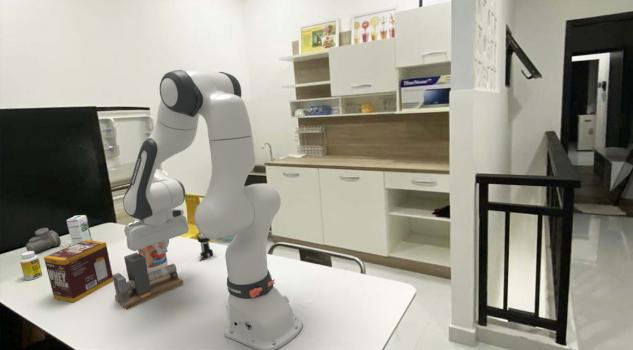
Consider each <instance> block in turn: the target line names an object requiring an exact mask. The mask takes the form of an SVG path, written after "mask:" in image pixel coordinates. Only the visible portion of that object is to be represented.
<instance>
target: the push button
mask: <svg viewBox="0 0 633 350" xmlns="http://www.w3.org/2000/svg"><path fill="white" fill-rule="evenodd" d="M196 238H197V242H198V243H200V247H201V252H200V254H199V255H200V256H198V260H199V261H201V260H206V259H208V258H210V257H213V256H214V253H213V252H214V251H213V249H211V247H210V241H211V239H208V238H206V237H204V236H203V235H202V234H201V233H200V234H199V235H198V236H197V237H196Z"/></svg>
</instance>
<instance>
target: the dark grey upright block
mask: <svg viewBox="0 0 633 350" xmlns="http://www.w3.org/2000/svg"><path fill="white" fill-rule="evenodd" d="M123 258H124V259H123V260H124V263H125V268H126V273H127V279H128V281H131V280H134V282H135V287H136V288H135V289H133V290H132V291H133V292H134V293H136V294H137V295H138V296H140V295H142V294H145V293H147V292H149V291H151V288H150V282H149V277H148V271H147V266H146V261H145V257H143V256H141V255H140V254H139V252H138V251H135V252H134V253H130V254H128V255H124V257H123Z"/></svg>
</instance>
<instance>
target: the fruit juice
mask: <svg viewBox="0 0 633 350" xmlns="http://www.w3.org/2000/svg"><path fill="white" fill-rule="evenodd" d="M136 221H139V219H136V218H134V221H133V222H136ZM163 245H164V242H160V243H159V246H157V247H158V248H162V247H163ZM137 253H138V254H140V255H141V256H143V257H145V261H146V266H147V271H148V273H151V272H153V271H156V270H158V269H161V268H163V267H166V266H168V257H167V252H166V253H164V254H161V255H158V254H157V250H156V249H155V248H154V247H153V246H152V245H151V246H148V247H145V248H142V249H139V250H137Z"/></svg>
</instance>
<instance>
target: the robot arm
mask: <svg viewBox="0 0 633 350" xmlns="http://www.w3.org/2000/svg"><path fill="white" fill-rule="evenodd" d="M159 95H160V102H159V104H158V105H159V106H158V110H157V115H156V116H157V118H156V122H155V124H154V127H153V130H152V131H151V133H150V135H149V136H148V137H147V138H146V139H145V140H144V141H143V143H142V144H141V146H140V149H139V150H138V151H139V152H138V155H137V158H136V162H135V165H134V169H133V171H132V175H131V179H130V182H129V185H128V187H127V189H126V191H125V193H124V196H123V199H122V204H123V205H122V206H123V209H124V212H125V213H126V214H127V215H128V216H130V217H131V218H134V219H135V218H136V219H139V221H136V222H134V221H132V222H129V223H128V224H127V225H126V226H125V227H124V230H123V231H124V234H125V236H126V246H127V248H128V250H130V251H133V252H138V250H139V249H142V248H145V247H148V246H151V245H152V246H153V247H154V248H155V249H156V250H157V254H158V255H161V254H164V253H166V254H167V253H168V252H169V251H168V247H169V244H170V240H171V239H174V238H177V237H179V236H182V235H185V234H188V232H189V231H190V227H189V223H188V219H187V217H186V216H185V215H184V214H185V211H184V209H182V208H179V206H181V205H183V203H184V202H185V199H186V188H185V186H184V185H183V183H182V182H181V181H180V180H178V179H176V178H171V177H169V176H166V175H165V174H164V173H163V172H162V171H161V169H160V168H158V167H159V166H160V165H162V163H164V162H166V161H167V160H168V159H170V158H172V157H174V156H175V155H177V154H179V153H181V152H182V153H183V151H185V150H187V149H188V148H190V146H192V144H193V142H194V141H195V138H196V135H197V130H198V124H199V117H200V116H201V117H202V118H203V119H204V120H205V123H206V128H207V137H208V144H209V151H210V159H211V161H210V163H211V177H210V180H209V181H210V182H209V184H208V188H207V190H206V193H205V195H204V197H203V199H202V200H201V201H200V203H199V204H197V206H196V208H195V211H194V224H195V227H196V229H197V231H198V232H199V233H200V234H202V235H203V236H204V237H206V238H208V239H210V240H216V239H223V238H228V237H230V236H232V235H234V237H233V238H232V240H231V242H230V243H229V244H228V246H227V248H226V250H225V255H224V258H225V263H226V264H225V265H226V271H227V272H226V273H227V277H226V287H227V291H228V293H229V295H228V300H227V303H226V327H225V329H224V336H225V337H226V338H228V339H231V340H233V341H236V342H239V343H241V344H243V345H245V346H248V347H250V348H253V349H255V350H277V349H280V348H282V347H283V346H285V345H287V344H288V343H289V342H291V341H292V340H294V339H295V338H296V336H297V335H299V333H300V332H301V331H302V329H303V326H304V324H303V321H302V320H301V319H299V318H298V317H297V316H296V315H295V314H294V313H293V310H292V307H291V305H290V302H289V301H290V300H289V297H288V296H286V295H284V296H283V295H282V294H281V292H279V290H278V289H277V287H275V285H274V284H275V283H276V282H275V279H273V278H272V275H271V273H270V270H269V269H268V260H267V259H268V256H267V244H268V237H269V233H270V229H271V226H272V223H273V220H274V218H275V216H276V215H277V213H278V212H279V210H280V208H281V200H282V199H281V195H280V193H279V191H278V190H277V188H276V187H275V186H274V185H272V184H270V183H268V182H267V183H266V182H264V183H251V184H249V185H245V184H246V181H247V179H248V176H249V175H250V174H251V172H252V171H253V169H255V166H256V157H255V147H254V138H253V132H252V126H251V125H252V124H251V120H250V117H249V113H248V109H247V106H246V103H245V101H244V100H243V99H242V86H241V84H240V81H239V80H238V79H237V78H236V77H235V75H232V74H231V73H228V72H223V71H219V72H217V71H210V70H206V69H188V70H183V69H177V70H172V71H171V70H170V71H168V72H166V73H165V74H163V76H162V78H161V81H160V83H159ZM160 242H164V245H163V247H162V248H158V247H157V246H159V243H160Z"/></svg>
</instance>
